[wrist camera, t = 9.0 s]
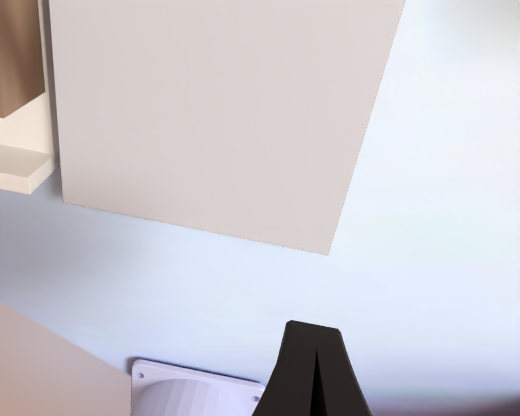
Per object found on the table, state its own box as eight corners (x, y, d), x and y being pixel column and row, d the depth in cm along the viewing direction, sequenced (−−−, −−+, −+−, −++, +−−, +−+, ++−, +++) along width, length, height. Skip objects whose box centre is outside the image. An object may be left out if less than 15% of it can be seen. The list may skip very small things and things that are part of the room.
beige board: (327, 236, 22) (327, 255, 21) (78, 186, 23) (63, 202, 21) (433, -122, 15) (443, -125, 14) (59, -194, 15) (34, -204, 14)
